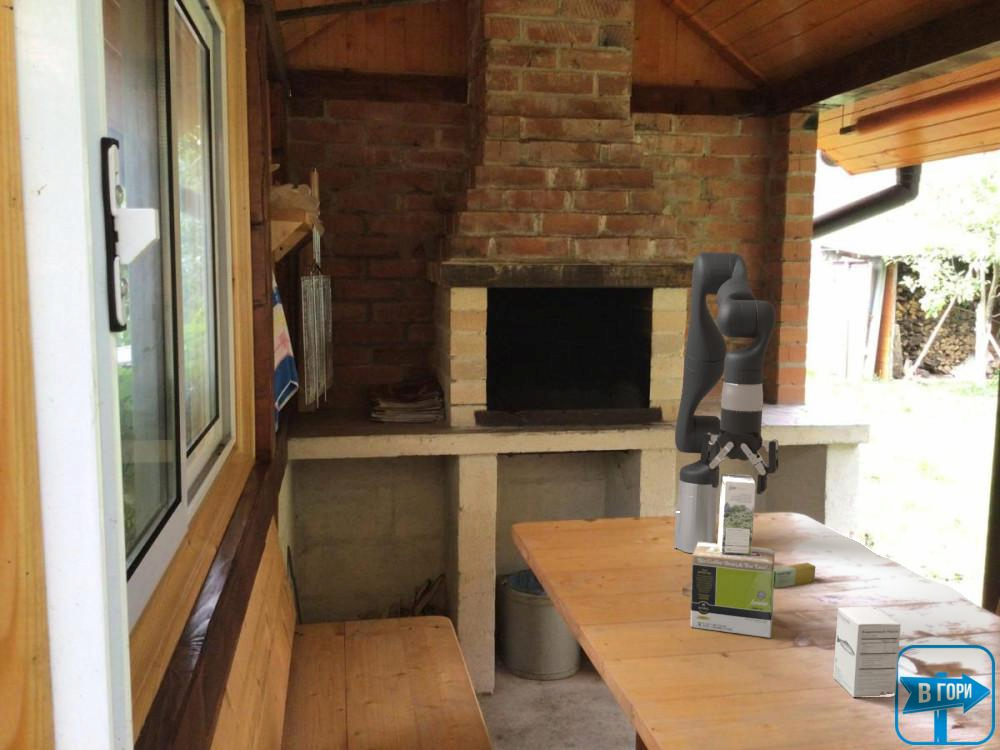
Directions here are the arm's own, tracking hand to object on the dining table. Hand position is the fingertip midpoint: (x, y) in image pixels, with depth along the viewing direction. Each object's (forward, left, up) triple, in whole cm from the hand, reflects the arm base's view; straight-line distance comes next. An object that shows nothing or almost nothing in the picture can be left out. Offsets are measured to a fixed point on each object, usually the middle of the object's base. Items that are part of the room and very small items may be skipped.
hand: (737, 490), depth 168 cm
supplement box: (+26, -15, -27) cm, 40 cm away
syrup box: (0, 0, -12) cm, 12 cm away
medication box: (+5, +29, -27) cm, 40 cm away
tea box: (0, 0, -27) cm, 27 cm away
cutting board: (-6, +15, -26) cm, 31 cm away
